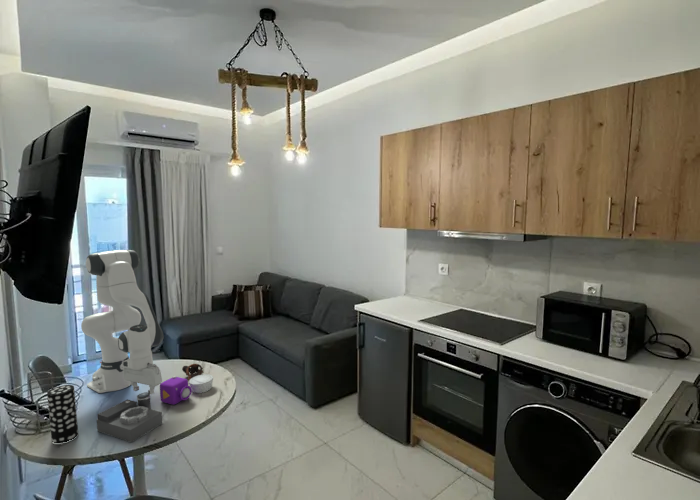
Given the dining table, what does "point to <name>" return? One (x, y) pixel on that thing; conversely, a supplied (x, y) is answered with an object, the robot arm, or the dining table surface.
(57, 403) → the spotted tube
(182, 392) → the toy camera
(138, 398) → the lens
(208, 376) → the ramekin
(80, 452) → the dining table surface
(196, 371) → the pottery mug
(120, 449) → the dining table surface
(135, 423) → the camera body
